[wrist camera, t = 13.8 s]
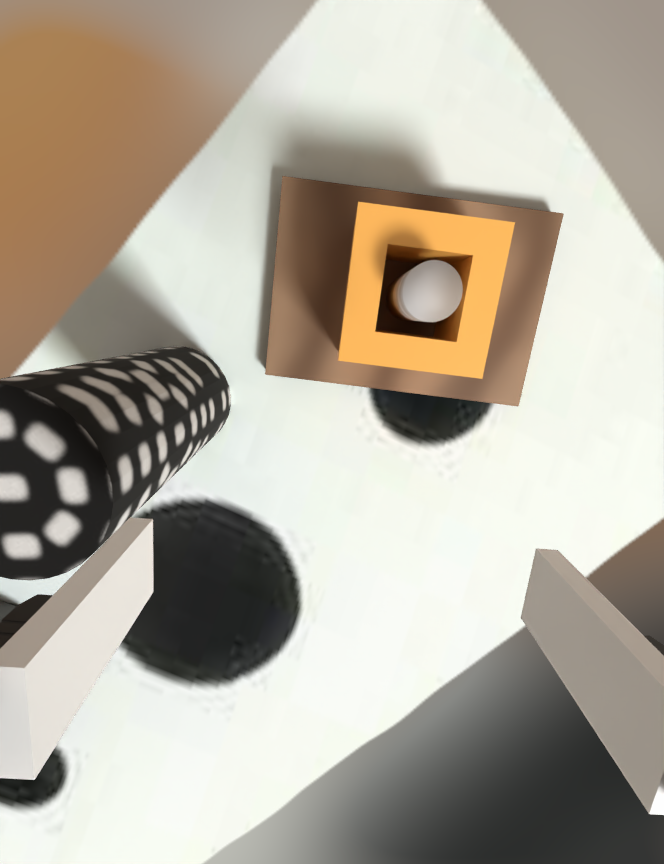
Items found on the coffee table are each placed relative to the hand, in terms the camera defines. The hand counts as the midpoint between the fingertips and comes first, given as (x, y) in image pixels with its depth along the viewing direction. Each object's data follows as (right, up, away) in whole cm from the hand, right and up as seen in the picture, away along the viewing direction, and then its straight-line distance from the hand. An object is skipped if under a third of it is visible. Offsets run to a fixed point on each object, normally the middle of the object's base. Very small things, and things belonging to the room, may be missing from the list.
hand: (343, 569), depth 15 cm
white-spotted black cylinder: (-13, +8, +22) cm, 27 cm away
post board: (+5, +15, +19) cm, 25 cm away
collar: (+5, +15, +18) cm, 24 cm away
